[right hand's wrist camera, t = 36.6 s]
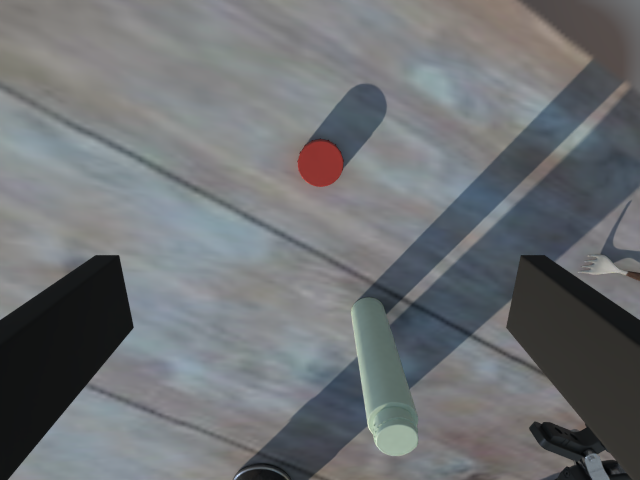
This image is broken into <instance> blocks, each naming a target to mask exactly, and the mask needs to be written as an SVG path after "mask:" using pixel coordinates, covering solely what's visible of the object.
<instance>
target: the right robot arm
mask: <svg viewBox="0 0 640 480" xmlns="http://www.w3.org/2000/svg"><path fill="white" fill-rule="evenodd" d="M133 328H134V327H133V322H132V317H131V312H130V307H129V302H128V297H127V292H126V287H125V282H124V277H123V272H122V267H121V262H120V257H119V255H95V256H94V257H92V258H91V259H89V260H88V261H87V262H85V263H84V264H82V265H81V266H79V267H78V268H76V269H75V270H73V271H72V272H70V273H69V274H67V275H66V276H64V277H63V278H62V279H60V280H59V281H57V282H56V283H54V284H53V285H51V286H50V287H48V288H47V289H45V290H44V291H42V292H41V293H39V294H38V295H37V296H35V297H34V298H32V299H31V300H29V301H28V302H26V303H25V304H23V305H22V306H20V307H19V308H17V309H16V310H15V311H13V312H12V313H10V314H9V315H7V316H6V317H4V318H3V319H1V320H0V480H8V479H9V478H10V476H11V475H12V474H13V473H14V472H15V470H16V469H17V468H18V467H19V466H20V464H21V463H22V462H23V461H24V459H25V458H26V457H27V456H28V455H29V453H30V452H31V451H32V450H33V449H34V447H35V446H36V445H37V444H38V443H39V441H40V440H41V439H42V438H43V437H44V435H45V434H46V433H47V432H48V431H49V429H50V428H51V427H52V426H53V424H54V423H55V422H56V421H57V420H58V418H59V417H60V416H61V415H62V414H63V412H64V411H65V410H66V409H67V408H68V406H69V405H70V404H71V403H72V402H73V400H74V399H75V398H76V397H77V395H78V394H79V393H80V392H81V391H82V389H83V388H84V387H85V386H86V385H87V383H88V382H89V381H90V380H91V379H92V377H93V376H94V375H95V374H96V373H97V371H98V370H99V369H100V368H101V367H102V365H103V364H104V363H105V362H106V360H107V359H108V358H109V357H110V356H111V354H112V353H113V352H114V351H115V350H116V348H117V347H118V346H119V345H120V344H121V342H122V341H123V340H124V339H125V338H126V336H127V335H128V334H129V333H130V331H131V330H132V329H133ZM506 328H507V329H508V330H509V332H510V333H511V334H512V335H513V336H514V338H515V339H516V340H517V341H518V342H519V344H520V345H521V346H522V347H523V348H524V350H525V351H526V352H527V353H528V354H529V356H530V357H531V358H532V359H533V360H534V362H535V363H536V364H537V365H538V367H539V368H540V369H541V370H542V371H543V373H544V374H545V375H546V376H547V377H548V379H549V380H550V381H551V382H552V383H553V385H554V386H555V387H556V388H557V389H558V391H559V392H560V393H561V394H562V395H563V397H564V398H565V399H566V400H567V402H568V403H569V404H570V405H571V406H572V408H573V409H574V410H575V411H576V412H577V414H578V415H579V416H580V417H581V418H582V420H583V421H584V422H585V423H586V424H587V426H588V427H589V428H590V429H591V431H592V432H593V433H594V434H595V435H596V437H597V438H598V439H599V440H600V441H601V443H602V444H603V445H604V446H605V447H606V449H607V450H608V451H609V452H610V453H611V455H612V456H613V457H614V458H615V459H616V461H617V462H618V463H619V464H620V466H621V467H622V468H623V469H624V470H625V472H626V473H627V474H628V475H629V476H630V478H631V479H632V480H640V320H639V319H637V318H636V317H634V316H633V315H631V314H630V313H628V312H627V311H625V310H624V309H623V308H621V307H620V306H618V305H617V304H615V303H614V302H612V301H611V300H609V299H608V298H606V297H605V296H603V295H602V294H601V293H599V292H598V291H596V290H595V289H593V288H592V287H590V286H589V285H587V284H586V283H584V282H583V281H581V280H580V279H578V278H577V277H576V276H574V275H573V274H571V273H570V272H568V271H567V270H565V269H564V268H562V267H561V266H559V265H558V264H556V263H555V262H553V261H552V260H551V259H549V258H548V257H546V256H545V255H521V257H520V262H519V267H518V272H517V277H516V282H515V287H514V292H513V297H512V302H511V307H510V312H509V317H508V322H507V327H506Z"/></svg>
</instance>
